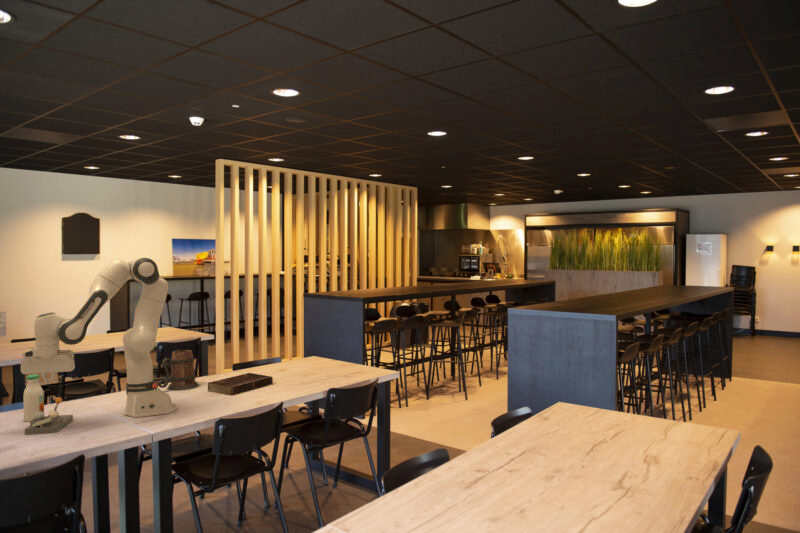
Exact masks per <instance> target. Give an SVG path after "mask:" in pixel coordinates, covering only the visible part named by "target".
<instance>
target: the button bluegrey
mask: <svg viewBox="0 0 800 533" xmlns="http://www.w3.org/2000/svg"><path fill="white" fill-rule="evenodd" d="M44 417H45V411H44V412H36V413H35V419H36V420H38V419H43V418H44Z"/></svg>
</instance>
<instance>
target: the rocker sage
mask: <svg viewBox="0 0 800 533" xmlns="http://www.w3.org/2000/svg"><path fill="white" fill-rule="evenodd" d="M51 420H52V418H48V419H45V420H42V421H39V422H36V423H34V424H32V426H33V427H35V426H38V425H41V424H44V423H47V422H50V421H51Z"/></svg>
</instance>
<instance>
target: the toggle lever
mask: <svg viewBox="0 0 800 533" xmlns="http://www.w3.org/2000/svg"><path fill="white" fill-rule="evenodd" d="M62 402H63V399H62V397H56V398H55V406H54V409H53V411H57V410H58V407H59V404H60V403H62Z"/></svg>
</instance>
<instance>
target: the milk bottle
mask: <svg viewBox="0 0 800 533" xmlns="http://www.w3.org/2000/svg"><path fill="white" fill-rule="evenodd" d="M39 380H40V374H38V373H35V374H27V376H26V381H27V382H26V387H25V389H24V391H23V400H22V401H23V420H24V422H30V421H31V420H33V419H34V418H35V413H36V412H44V413H45V401H44V400H45V396H44V390H43V388H42V386H41V384H40V382H39Z"/></svg>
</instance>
